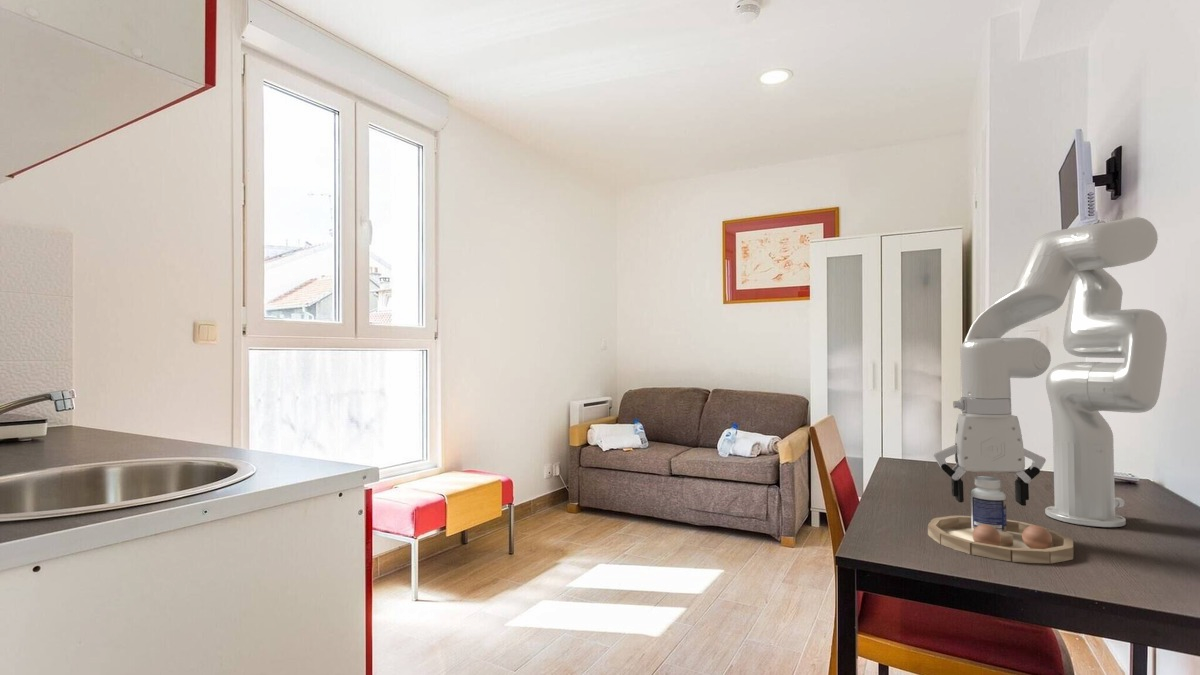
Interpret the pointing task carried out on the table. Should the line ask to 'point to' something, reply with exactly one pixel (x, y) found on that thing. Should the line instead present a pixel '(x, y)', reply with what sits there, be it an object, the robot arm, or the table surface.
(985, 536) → the brown egg
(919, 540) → the table surface
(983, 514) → the pill bottle
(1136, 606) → the table surface
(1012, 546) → the groove tray
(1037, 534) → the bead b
